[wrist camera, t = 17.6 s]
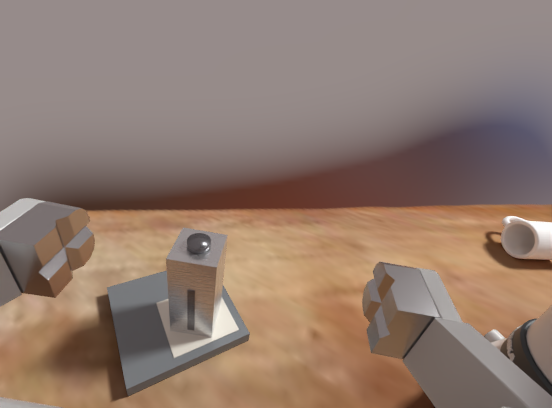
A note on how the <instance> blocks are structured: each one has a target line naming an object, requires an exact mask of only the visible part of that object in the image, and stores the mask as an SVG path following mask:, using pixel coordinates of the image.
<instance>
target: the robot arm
mask: <svg viewBox="0 0 552 408" xmlns="http://www.w3.org/2000/svg"><path fill="white" fill-rule="evenodd" d="M89 222H90V219H89V216H88V213H87V211H86V210H84V209H81V208H77V207H72V206H66V205H62V204H57V203H52V202H47V201H46V202H45V201H40V200H35V199H30V198H25V199H20V200H18V201H17V202H15V203H14V204H12V205H11V206H9V207H8V208H6V209H4V210H3V211H1V212H0V306H2V305H4V304H6V303H8V302H9V301H11V300H13V299H15V298H17V297H18V296H20V295H22V293H26V294H33V295H40V296H47V297H54V298H56V296H57V295H58V294H59V293H60V292H61V291H62V290H63V289H64V287H65V286H66V285H67V284H68V283H69V282H70V281H71V279H72V278H73V270H75V269H78V268H80V267H82V266H84V265H85V263H86V262H87V261H88V260H89V259H90V257H91V255H92V252H93V250H94V244H95V239H94V235H93V233H92V232H91V231H90V230H89V229H88V228H87V227H86V226H87V224H88V223H89ZM373 274H374V279H372V280H371V281H369V282H367V285H366V287H365V289H364V293H363V299H362V303H363V312H364V316H365V317H366V318H367V319H368V321H369V322H370V324H369V326H368V328H367V334H368V339H369V344H370V350H371V353H374V354H379V355H384V356H388V357H393V358H398V359H403V362H404V364H405V365H406V367H407V368H408V369H409V371H410V372H411V374H412V375H413V377H414V378H415V379H416V381H417V382H418V384H419V385H420V386H421V388H422V389H423V391H424V392H425V394H426V395H427V396H428V398H429V399H430V401H431V402H432V403H433V405H434V406H435V408H552V305H551V306H550V307H549V308H548V309H547V310H546V311H545V312H544V313H543V314H542V315H541V316H540V317H539V318H538V319H532V320H529V321H527V322H526V323H524V324H523V325H521V326H519V327H517V328H516V329H515V330H514V331H513V332H512V333H511V334H510V336H509V337H508V338H504V337H503V336H502V335H501V334H500V333H499V332H498V331H497V330H495V329H494V330H492V331H490V332H488V333H487V334H486V335H485V336H484V337H483V336H482V335H481V334H480V333H479V332H478V331H477V330H475V329H474V328H473V327H472V326H471V325H470V324H468V323H463V322H462V320H461V318H460V316H459V314H458V312H457V310H456V308H455V306H454V304H453V302H452V300H451V298H450V296H449V294H448V292H447V290H446V288H445V286H444V284H443V282H442V280H441V278H440V276H439V275H438V273H436V272H435V271H434V270H428V269H421V268H413V267H408V266H402V265H396V264H390V263H384V262H379V263H378V264H377V265H376V266H375V268H374V270H373ZM0 408H62V407H56V406H50V405H44V404H39V403H33V402H27V401H21V400H15V399H9V398H3V397H0Z"/></svg>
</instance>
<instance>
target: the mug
mask: <svg viewBox="0 0 552 408" xmlns="http://www.w3.org/2000/svg"><path fill="white" fill-rule="evenodd" d="M502 224H503V226H504V229H503V231H502V234H501V243H502V246H503V248H504V250H505V251H506V252H507V253H508V254H509V255H511V256H513V257H515V258H519V259H542V260H552V223H551V222H537V221H526V220H524V219H522V218H519V217H515V216H508V217H506V218H504V219H503V220H502Z"/></svg>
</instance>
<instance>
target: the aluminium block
mask: <svg viewBox="0 0 552 408" xmlns="http://www.w3.org/2000/svg"><path fill="white" fill-rule="evenodd" d="M226 246H227V235H223V234H218V233H212V232H206V231H200V230H194V229H189V228H183V229H182V231H181V232H180V234H179V236H178V238H177V240H176V242H175V243H174V245H173V247H172V249H171V251H170V253H169V254H168V256H167V258H166V266H167V283H168V300H169V317H170V331H174V332H181V333H187V334H193V335H199V336H205V337H212V334H213V331H214V327H215V323H216V320H217V316H218V312H219V309H220V305H221V298H222V288H223V277H224V267H225V256H226Z"/></svg>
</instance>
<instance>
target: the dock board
mask: <svg viewBox="0 0 552 408" xmlns="http://www.w3.org/2000/svg"><path fill="white" fill-rule="evenodd" d="M107 290H108V295H109V301H110V306H111V311H112V316H113V322H114V327H115V332H116V338H117V343H118V348H119V354H120V359H121V364H122V369H123V375H124V380H125V385H126V390H127V394H128V396H130V395H132V394H134V393H136V392H138V391H141V390H143V389H145V388H147V387H149V386H151V385H153V384H156V383H158V382H160V381H162V380H164V379H166V378H168V377H171V376H173V375H175V374H177V373H179V372H181V371H183V370H186V369H188V368H190V367H192V366H194V365H196V364H199V363H201V362H203V361H205V360H207V359H209V358H211V357H214V356H216V355H218V354H220V353H222V352H224V351H226V350H229V349H231V348H233V347H235V346H237V345H239V344H241V343H244V342H246V341H248V340H249V334H250V333H249V331H248V329H247V328H246V326H245V324H244V322H243V320H242V319H241V317H240V315H239V313H238V311H237V309H236V308H235V306H234V304H233V302H232V300H231V299H230V297H229V295H228V293H227V291H226V289H225V288H224V286H223V288H222V298H221V305H220V309H219V312H218V316H217V320H216V323H215V327H214V331H213V334H212V337H205V336H199V335H193V334H187V333H181V332H174V331H170V317H169V300H168V283H167V271H164V272H160V273H157V274H153V275H150V276H146V277H143V278H139V279H136V280H132V281H128V282H125V283H121V284H118V285H114V286H111V287H107Z"/></svg>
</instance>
